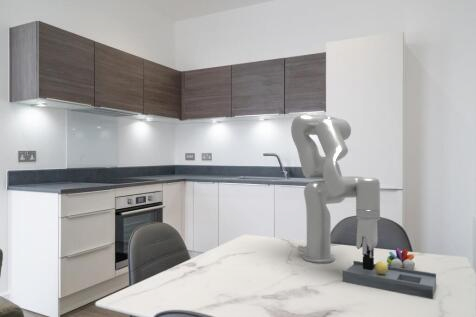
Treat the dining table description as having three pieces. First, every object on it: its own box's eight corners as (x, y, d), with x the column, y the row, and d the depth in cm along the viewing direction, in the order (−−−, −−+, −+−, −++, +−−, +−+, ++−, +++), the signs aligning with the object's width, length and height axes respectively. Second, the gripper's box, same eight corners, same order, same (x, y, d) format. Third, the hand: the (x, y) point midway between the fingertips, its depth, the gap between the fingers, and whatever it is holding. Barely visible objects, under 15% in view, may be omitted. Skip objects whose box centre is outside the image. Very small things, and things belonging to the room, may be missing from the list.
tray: (342, 281, 114) (342, 270, 114) (354, 270, 126) (354, 260, 126) (432, 298, 100) (432, 286, 100) (436, 284, 111) (436, 273, 112)
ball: (375, 261, 113) (387, 266, 111) (377, 258, 117) (390, 263, 114) (372, 272, 114) (384, 277, 112) (375, 269, 117) (387, 274, 115)
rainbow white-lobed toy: (418, 272, 124) (418, 252, 124) (389, 270, 126) (389, 250, 126) (411, 265, 133) (411, 246, 133) (384, 263, 134) (384, 245, 134)
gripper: (362, 211, 125) (362, 262, 124) (350, 216, 112) (350, 273, 112) (384, 212, 121) (384, 265, 120) (374, 218, 108) (375, 277, 108)
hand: (368, 268), depth 116 cm, fingers closed
